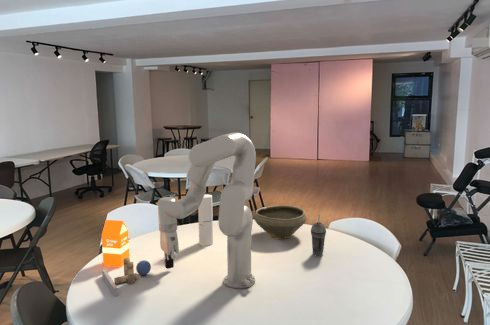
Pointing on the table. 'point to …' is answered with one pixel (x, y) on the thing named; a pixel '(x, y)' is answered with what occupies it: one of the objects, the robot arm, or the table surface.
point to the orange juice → (115, 243)
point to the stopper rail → (110, 282)
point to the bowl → (280, 220)
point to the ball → (143, 267)
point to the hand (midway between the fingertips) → (169, 267)
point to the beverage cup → (318, 238)
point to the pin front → (123, 279)
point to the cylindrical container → (206, 221)
